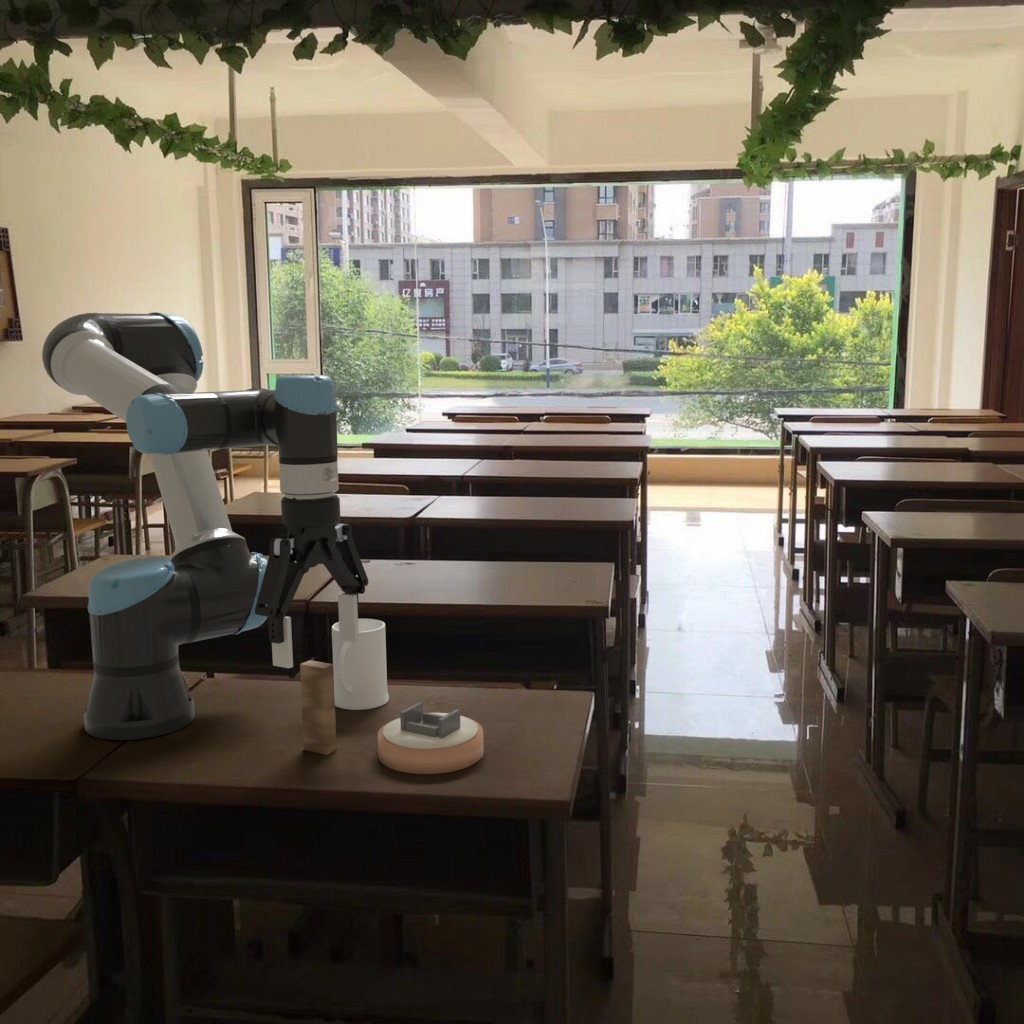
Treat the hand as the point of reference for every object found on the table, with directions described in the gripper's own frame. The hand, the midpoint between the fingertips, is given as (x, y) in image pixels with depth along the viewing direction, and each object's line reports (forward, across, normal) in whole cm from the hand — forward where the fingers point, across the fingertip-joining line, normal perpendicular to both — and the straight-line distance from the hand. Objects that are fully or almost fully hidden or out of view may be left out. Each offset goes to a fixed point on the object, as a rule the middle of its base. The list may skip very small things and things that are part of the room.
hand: (317, 653), depth 143 cm
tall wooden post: (+14, 0, 0) cm, 14 cm away
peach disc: (+14, +6, -14) cm, 20 cm away
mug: (+14, +17, +7) cm, 23 cm away
